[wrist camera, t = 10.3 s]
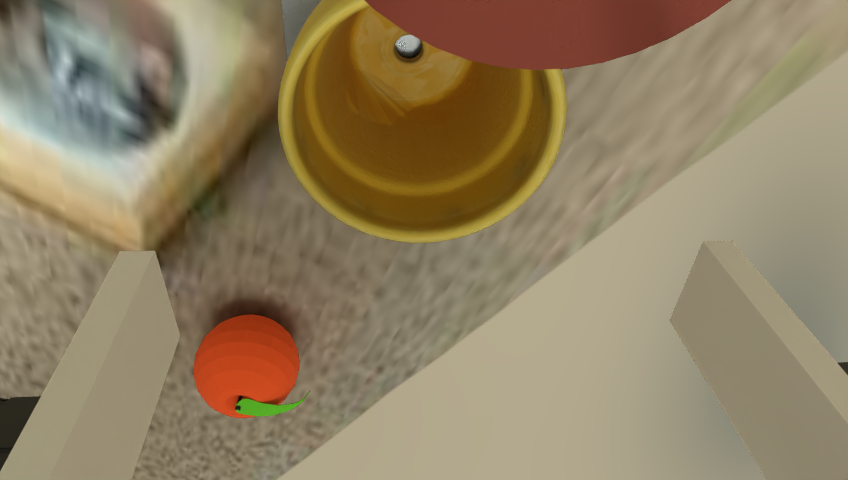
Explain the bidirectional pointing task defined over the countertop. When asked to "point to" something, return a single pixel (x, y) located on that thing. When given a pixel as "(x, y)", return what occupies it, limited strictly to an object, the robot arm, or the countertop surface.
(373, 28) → the plant pot
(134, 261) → the robot arm
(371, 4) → the ram
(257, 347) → the clementine
